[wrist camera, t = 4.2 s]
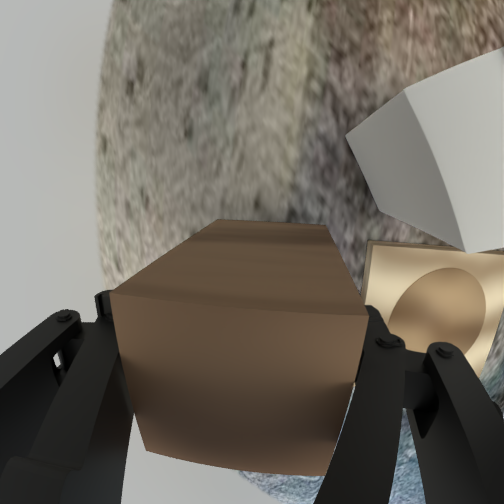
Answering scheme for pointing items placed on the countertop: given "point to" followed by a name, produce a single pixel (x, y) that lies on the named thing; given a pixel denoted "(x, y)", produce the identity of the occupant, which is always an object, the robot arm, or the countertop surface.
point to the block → (243, 347)
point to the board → (436, 295)
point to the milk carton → (441, 154)
